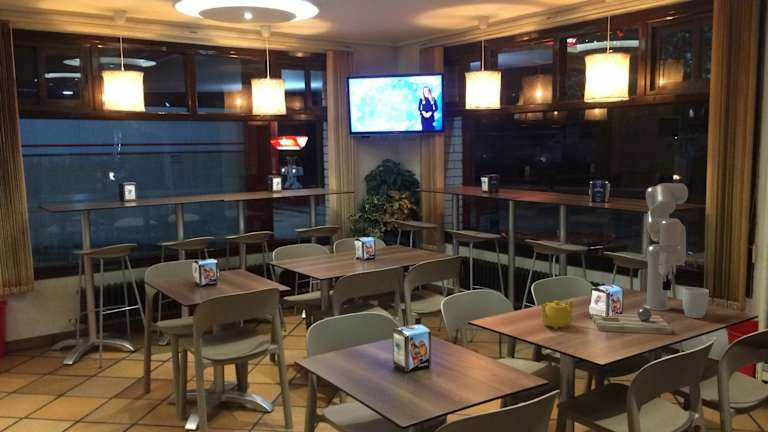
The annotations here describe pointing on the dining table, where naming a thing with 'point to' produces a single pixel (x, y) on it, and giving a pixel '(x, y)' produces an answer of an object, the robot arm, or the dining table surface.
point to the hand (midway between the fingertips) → (666, 289)
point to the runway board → (630, 324)
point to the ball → (644, 314)
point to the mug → (695, 301)
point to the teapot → (557, 314)
